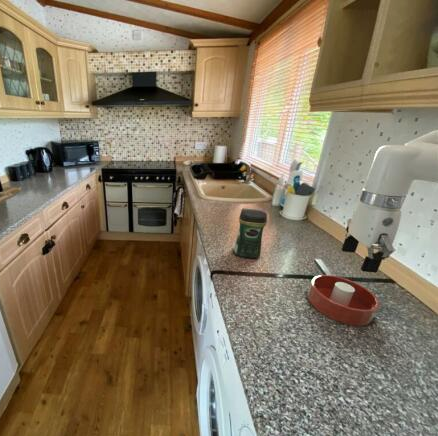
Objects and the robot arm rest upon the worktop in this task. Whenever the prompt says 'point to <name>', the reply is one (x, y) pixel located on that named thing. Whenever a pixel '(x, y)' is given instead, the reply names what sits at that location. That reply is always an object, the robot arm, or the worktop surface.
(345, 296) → the pale grey cylinder
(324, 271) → the pan handle
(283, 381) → the worktop surface
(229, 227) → the worktop surface
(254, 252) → the coffee jar
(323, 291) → the pan
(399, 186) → the robot arm
